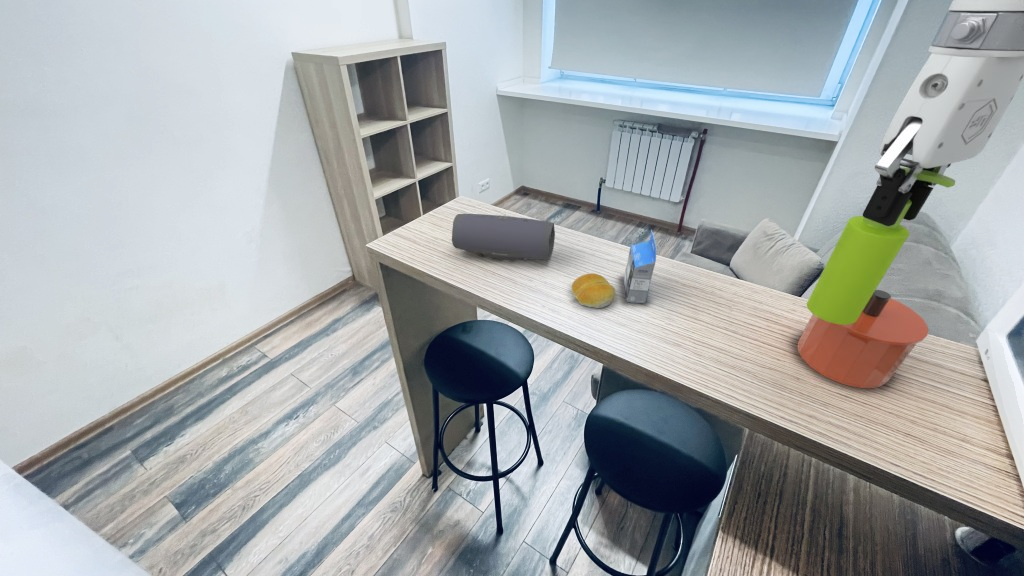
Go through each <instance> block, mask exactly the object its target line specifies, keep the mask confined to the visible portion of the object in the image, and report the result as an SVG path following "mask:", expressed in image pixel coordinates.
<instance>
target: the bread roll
mask: <svg viewBox="0 0 1024 576" xmlns="http://www.w3.org/2000/svg"><path fill="white" fill-rule="evenodd" d="M571 292H572V294H573V296H575V298H576V299H577V302H578V303H579V304H580V305H582V306H585V307H589V308H596V309H602V308H604V307H607V306H609V305H611V304H612V302H614V299H615V296H616V291H615V288H614V286H613V285H611V284H610V282H609V281H608V279H606V278H605V277H604V276H602V275H601V274H597V273H586V274H582V275H580V276H578V277H577V278H576V279H575V280H574V281H573V282H572V284H571Z"/></svg>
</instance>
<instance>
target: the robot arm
mask: <svg viewBox="0 0 1024 576" xmlns="http://www.w3.org/2000/svg"><path fill="white" fill-rule="evenodd" d="M927 52H928V53H931V54H930V56H929V57H928V59H926V61H925V63H924V64H923V66H922V68H921V69H920V71H919V72H918V74H917V76H916V77H915V78H914V81H913V83H912V84H911V85H910V87H909V89H908V91H907V92H906V95H905V96H904V98H903V99H902V102H901V103H900V104H899V106H898V109H897V110H896V112H895V114H894V116H893V118H892V120H891V122H890V123H889V125H888V127H887V129H886V131H885V134H884V136H883V138H882V141H881V144H880V146H879V148H878V149H879V150H878V152H879V155H880V157H881V158H879V160H878V161H877V162H876V164H875V166H874V170H875V172H877V173H878V174H879V177H878V179H877V181H876V187H875V189H874V191H873V193H872V195H871V197H870V199H869V201H868V203H867V205H866V207H865V209H864V210H863V212H862V216H863V217H865V218H867V219H870V220H872V221H875V222H878V223H880V224H883V225H885V226H892V225H894V224H895V223H896V221H897V219H898V218H899V216H900V214H901V212H902V211H903V209H904V207H905V205H906V204H907V202H908V200H911V201H912V204H911V206H910V208H909V209H908V211H907V213H906V214H905V216H904V218H903V219H902V220H906V221H912V220H915V219H916V218H917V217H918V214H919V213H920V212H921V209H922V208H923V207H924V205H925V203H926V201H927V200H928V198H929V196H930V195H931V193H932V192H933V190H934V187H935V186H936V185H937V184H936V183H932V182H928V181H922V180H916V179H917V178H918V176H919V174H920V173H921V171H922V170H926V171H931V172H935V173H938V174H942V175H945V172H946V170H947V169H948V168H949V167H951V165H952V164H955V163H959V162H963V161H968V160H970V159H973V158H975V157H977V156H978V155H980V154H981V153H982V152H983V150H984V149H985V147H986V146H987V144H988V142H989V140H990V139H991V137H992V135H993V133H994V132H995V130H996V128H997V127H998V125H999V124H1000V122H1001V120H1002V118H1003V116H1004V115H1005V112H1006V111H1007V109H1008V107H1009V106H1010V104H1011V102H1012V100H1013V99H1014V97H1015V95H1016V93H1017V92H1018V89H1019V87H1020V86H1021V84H1022V81H1023V80H1024V0H952V1H951V3H950V5H949V7H948V10H947V12H946V13H945V16H944V18H943V19H942V22H941V24H940V26H939V27H938V30H937V32H936V34H935V36H934V38H933V40H932V42H931V44H930V46H929V48H928V49H927ZM907 155H908V156H909V155H910V156H912V159H908V158H905V156H907ZM900 167H902V168H911V169H910V170H909V172H908V174H907V175H906V172H905V170H904V169H901V168H900Z"/></svg>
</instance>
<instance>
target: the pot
mask: <svg viewBox="0 0 1024 576" xmlns="http://www.w3.org/2000/svg"><path fill="white" fill-rule="evenodd" d="M917 344H918V343H916V344H912V345H892V344H885V343H880V342H876V341H872V340H869V339H866V338H863V337H860V336H858V335H855V334H853V333H851V332H849V331H846V330H844V329H843V328H841V327H839V326H838V325H836V324H834V323H831V322H828V321H825V320H823V319H821V318H819V317H817V316H815V315H814V314H813V313H812V314H811V317H810V319H809V320H808V323H807V324H806V326H805V328H804V329H803V331H802V334H801V336H800V337H799V340H798V342H797V351H798V354H799V355H800V357H801V359H802V360H803V361H804V362H805V363H806V364H807V365H808V366H809V367H810V368H811V369H813V370H814V371H816V372H817V373H818V374H820V375H821V376H823V377H825V378H827V379H830V380H831V381H833V382H836V383H839V384H841V385H845V386H849V387H853V388H857V389H858V388H860V389H876V388H879V387H882V386H884V385H885V384H886V383H888V382H890V380H891V378H892V377H893V376H894V374H895V373H896V372H897V370H898V369H900V367H901V365H902V364H903V362H904V361H905V359H906V358H907V357H908V356H909V354H910V353H911V352H912V350H913V349H914V348H915V346H916V345H917Z"/></svg>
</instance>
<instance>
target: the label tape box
mask: <svg viewBox="0 0 1024 576" xmlns="http://www.w3.org/2000/svg"><path fill="white" fill-rule="evenodd" d="M657 251H658V250H657V243H656V239H655V236H654V233H653V229H650V235H649V240H646V241H643V242H639V243H636V244H631V245H630V246H629V252H628V255H627V256H628V257H627V261H626V267H625V270H624V275H623V285H624V289H625V290H624V291H625V298H626V302H627V303H632V304H646V301H647V297H648V293H649V289H650V286H651V281H652V278H653V273H654V269H655V266H656V262H657Z"/></svg>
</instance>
